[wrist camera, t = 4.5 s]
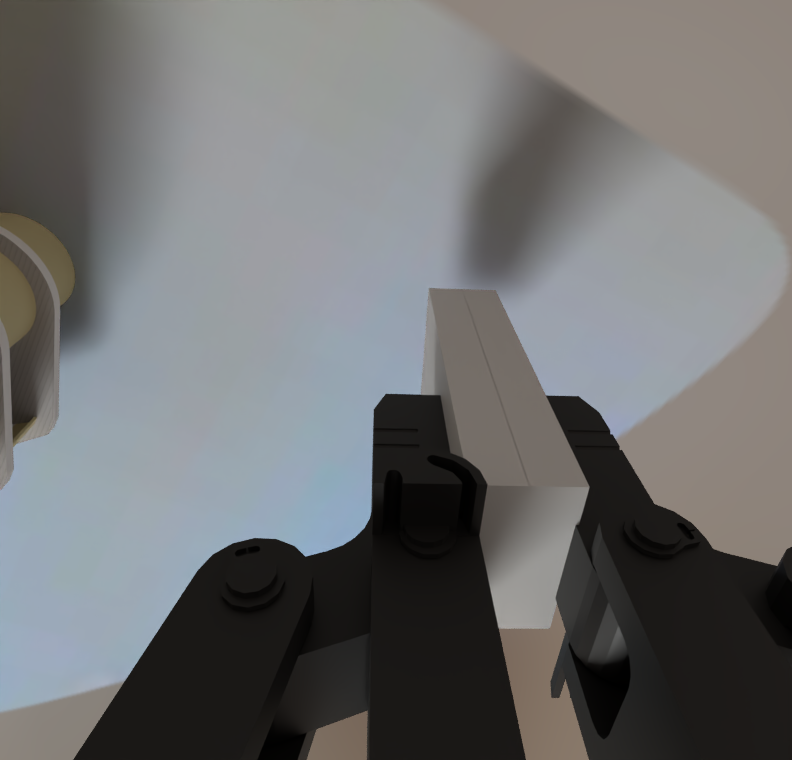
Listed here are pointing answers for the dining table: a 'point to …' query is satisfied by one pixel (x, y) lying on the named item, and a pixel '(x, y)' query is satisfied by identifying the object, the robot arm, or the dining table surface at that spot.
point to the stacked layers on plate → (29, 331)
